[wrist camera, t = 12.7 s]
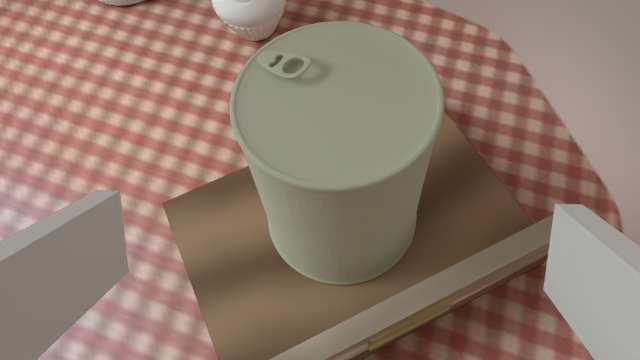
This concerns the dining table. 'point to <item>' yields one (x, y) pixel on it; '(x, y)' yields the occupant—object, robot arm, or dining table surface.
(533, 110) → the dining table surface
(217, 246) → the shelf
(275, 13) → the muffin
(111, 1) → the pill bottle
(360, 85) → the can
